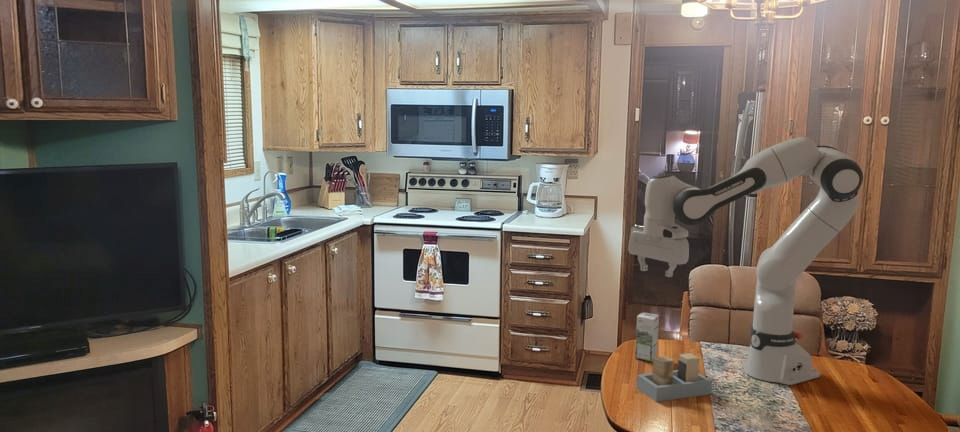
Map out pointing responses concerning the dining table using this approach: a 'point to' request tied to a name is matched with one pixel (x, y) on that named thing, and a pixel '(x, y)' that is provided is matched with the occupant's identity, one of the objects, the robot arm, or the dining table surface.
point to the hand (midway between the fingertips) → (656, 273)
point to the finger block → (662, 371)
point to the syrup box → (646, 336)
